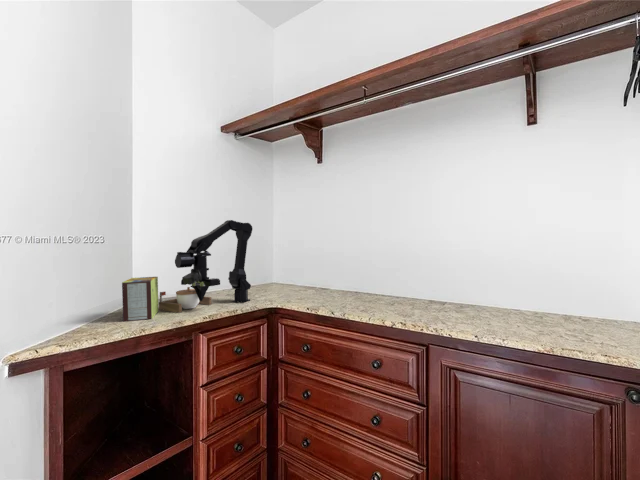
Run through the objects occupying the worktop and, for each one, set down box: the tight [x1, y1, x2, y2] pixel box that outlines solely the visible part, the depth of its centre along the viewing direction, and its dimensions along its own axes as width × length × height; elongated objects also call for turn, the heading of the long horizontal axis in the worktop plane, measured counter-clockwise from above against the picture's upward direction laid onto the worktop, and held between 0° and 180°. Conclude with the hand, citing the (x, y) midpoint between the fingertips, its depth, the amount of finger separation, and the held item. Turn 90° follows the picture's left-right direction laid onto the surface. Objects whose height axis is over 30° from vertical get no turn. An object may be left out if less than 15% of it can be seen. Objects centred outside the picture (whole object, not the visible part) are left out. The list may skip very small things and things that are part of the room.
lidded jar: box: [175, 286, 200, 310], centre depth 151 cm, size 11×11×9 cm
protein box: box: [121, 276, 159, 322], centre depth 135 cm, size 10×15×16 cm
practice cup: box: [158, 291, 212, 314], centre depth 152 cm, size 18×13×8 cm
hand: (200, 300), depth 147 cm, fingers closed
